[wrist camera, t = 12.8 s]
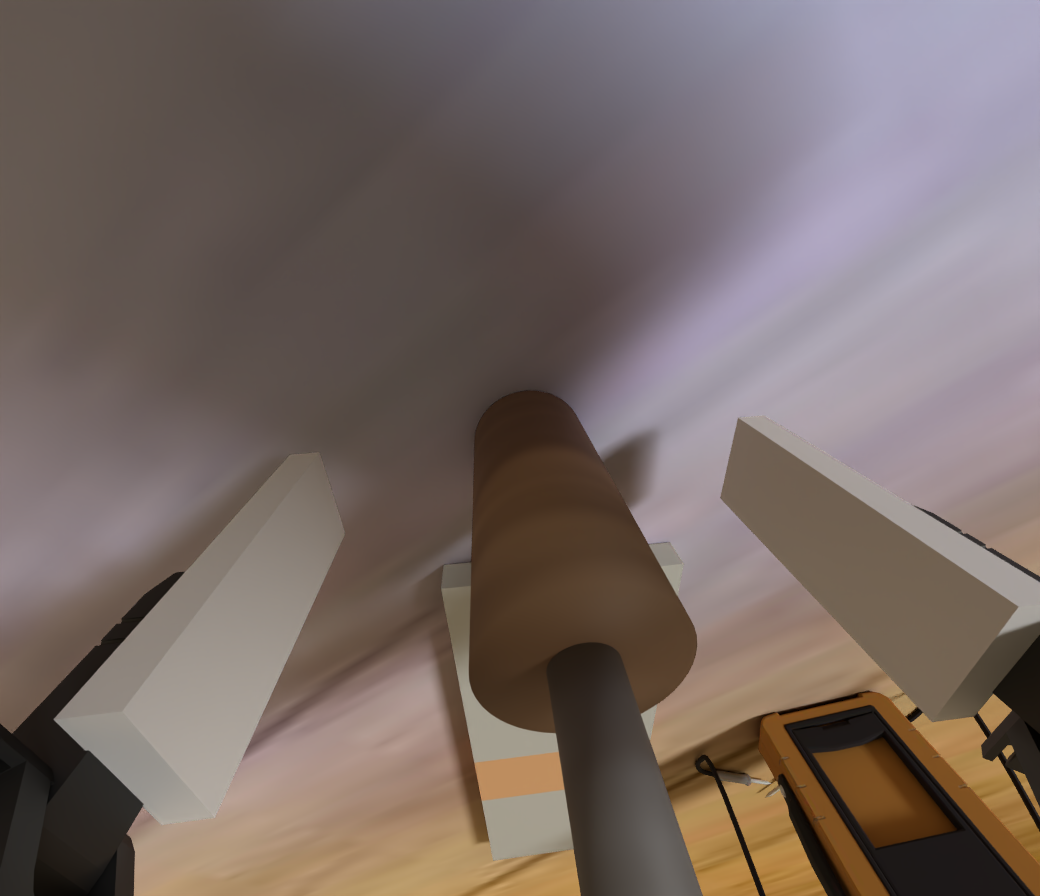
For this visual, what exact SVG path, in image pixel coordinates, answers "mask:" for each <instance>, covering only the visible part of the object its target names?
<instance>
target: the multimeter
mask: <svg viewBox="0 0 1040 896" xmlns="http://www.w3.org/2000/svg"><path fill="white" fill-rule="evenodd" d="M922 713H923V712H922V711H921V710H920V709H919V708H918V709H917V710H916V711H915V712H914V713H913V714H912V715H910V716H909V717H908V718H906V717H905V716H904V715H903V714H902V713H901V712H900V710H899V709H898V708H897V707H896V706H895V705H894V703H893V702H892V701H891V700H890V699H889V698H888V697H886V696H884V695H882V694H880V693H877V692H866V693H858V695H857V698H853V699H849V700H844V701H840V702H836V703H831V704H827V705H823V706H818V707H814V708H810V709H805V710H801V711H796V712H792V713H788V714H783V715H779V714H778V713H777V712H776V713H773V714H770V715H767V716H764V717H763V719H762V720H761V727H760V737H759V747H758V750H759V752H760V753H761V754H762V756H763V757H764V759H765V761H766V763H767V765H768V767H769V768H770V770H771V772H772V774H773V776H774V778H775V780H776V781H778V786H777V787H776V788H774V789H773V790H771V791H770V792H769V793H768V794H767V795H766V797H770V796H772V795H773V794H775V793H776V792H777V791H779V790H781V793H782V795H783V796H784V798H785V801H786V803H787V805H788V809H789V816H790V819H791V821H792V823H793V825H794V828H795V830H796V832H797V834H798V837H799V839H800V841H801V843H802V845H803V848H804V850H805V852H806V854H807V857H808V859H809V861H810V863H811V865H812V868H813V869H814V871H815V873H816V875H817V877H818V879H819V880H820V882H821V884H822V886H823V888H824V890H825V892H826V893H827V895H828V896H1040V864H1039V863H1038V862H1037V861H1036V860H1035V858H1034V857H1033V856H1032V855H1031V854H1030V853H1029V852H1028V851H1027V850H1026V848H1025V847H1024V846H1023V845H1022V844H1021V843H1020V842H1019V841H1018V840H1017V838H1016V837H1015V836H1014V835H1013V834H1012V833H1011V832H1010V831H1009V830H1008V829H1007V827H1006V826H1005V825H1004V824H1003V823H1002V822H1001V821H1000V820H999V819H998V818H997V816H996V815H995V814H994V813H993V812H992V811H991V810H990V809H989V808H988V807H987V806H986V804H985V803H984V802H983V801H982V800H981V799H980V798H979V797H978V796H977V795H976V794H975V792H974V791H973V790H972V789H971V788H970V787H967V784H966V783H965V781H964V780H963V779H962V778H961V777H960V776H959V775H958V774H957V773H956V772H955V771H954V769H953V768H952V767H951V766H950V765H949V764H948V763H947V762H946V761H945V760H944V759H943V758H942V757H940V754H939V753H938V752H937V751H936V750H935V749H934V748H933V747H932V745H931V744H930V743H929V742H928V741H927V740H926V739H925V738H924V737H923V736H922V734H921V733H920V732H919V731H917V730H916V728H915V727H914V726H913V725H912V724H911V722H912V721H914V720H915V719H916V718H917V717H919V716H920V715H921V714H922ZM973 717H974V718H975V720H976V721H977V723H978V724H979V726H980V728H981V729H982V731H983V732H984V734H985V735H986V737H987V738H988V737H989V736H990V735H991V732H990V731H989V729H988V728H987V726H986V725H985V723H984V722H983V720H982V719H981V717H980V716H979V714H978V712H977V714H976V715H975V716H973ZM998 758H999V759H1000V761H1001V763H1002V764H1003V766H1004V768H1005V769H1006V771H1007V773H1008V775H1009V776H1010V778H1011V780H1012V782H1013V783H1014V785H1015V787H1016V789H1017V791H1018V793H1019V794H1020V796H1021V798H1022V800H1023V802H1024V804H1025V805H1026V807H1027V809H1028V811H1029V813H1030V815H1031V816H1032V818H1033V820H1034V822H1035V824H1036V825H1037V827H1038V829H1039V831H1040V817H1039V815H1038V813H1037V812H1036V810H1035V808H1034V806H1033V804H1032V803H1031V801H1030V799H1029V797H1028V795H1027V794H1026V792H1025V790H1024V788H1023V786H1022V785H1021V783H1020V781H1019V779H1018V778H1017V776H1016V774H1015V772H1014V771H1013V769H1010V768H1008V767H1006V765H1005V764H1006V761H1007V759H1006V757H1005V756H1004V754H1003V752H1001V753H1000V754H999V755H998ZM704 760H705V761H706V762H707V764H708V765H709V767H710V769H711V771H712V772H711V771H707V770H704V769H702V768H701V767H700V764H701V763H702V762H703V761H704ZM695 766H696V769H697V770H698V771H699V772H700V773H702V774H705V775H709V776H713V777H714V778H715V780H716V782H717V785H718V787H719V789H720V792H721V794H722V797H723V799H724V802H725V805H726V807H727V810H728V812H729V815H730V818H731V820H732V823H733V825H734V828H735V831H736V833H737V836H738V839H739V841H740V844H741V847H742V850H743V852H744V855H745V858H746V860H747V863H748V866H749V868H750V871H751V874H752V877H753V879H754V882H755V885H756V887H757V890H758V893H759V895H760V896H766V895H765V893H764V890H763V888H762V885H761V882H760V880H759V877H758V874H757V872H756V869H755V866H754V864H753V861H752V859H751V856H750V853H749V851H748V848H747V845H746V843H745V840H744V837H743V835H742V832H741V830H740V827H739V824H738V822H737V819H736V817H735V814H734V812H733V809H732V807H731V804H730V801H729V799H728V796H727V794H726V792H725V789H724V787H723V785H722V782H721V780H722V781H728V782H735V783H741V784H745V785H747V786H750V785H751V782H753V783H759V784H766V785H767V784H771V783H769V782H768V781H764V780H758V779H752V778H750V776H749V775H748V774H738V773H731V772H725V771H716V769H715V767H714V765H713V763H712V762H711V760H710V759H709V758H708V756H706V755H702V756H701V757H700V758H699V759H698V760H697V761H696V763H695ZM766 797H765V798H766Z"/></svg>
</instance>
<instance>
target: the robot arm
mask: <svg viewBox="0 0 1040 896" xmlns="http://www.w3.org/2000/svg"><path fill="white" fill-rule="evenodd" d="M720 498H721V499H722V500H723V502H724V503H725V504H726V505H727V506H728V507H729V508H730V509H731V510H732V511H733V512H734V513H735V514H736V515H737V516H738V517H739V518H740V520H741V521H742V522H743V523H744V524H745V525H746V526H747V527H748V528H749V529H750V530H751V531H752V532H753V533H754V534H755V535H756V536H757V537H758V539H759V540H760V541H761V542H762V543H763V544H764V545H765V546H766V547H767V548H768V549H769V550H770V551H771V552H772V553H773V554H774V555H775V557H776V558H777V559H778V560H779V561H780V562H781V563H782V564H783V565H784V566H785V567H786V568H787V569H788V570H789V571H790V572H791V573H792V574H793V576H794V577H795V578H796V579H797V580H798V581H799V582H800V583H801V584H802V585H803V586H804V587H805V588H806V589H807V590H808V591H809V592H810V594H811V595H812V596H813V597H814V598H815V599H816V600H817V601H818V602H819V603H820V604H821V605H822V606H823V607H824V608H825V609H826V610H827V612H828V613H829V614H830V615H831V616H832V617H833V618H834V619H835V620H836V621H837V622H838V623H839V624H840V625H841V626H842V627H843V628H844V629H845V631H846V632H847V633H848V634H849V635H850V636H851V637H852V638H853V639H854V640H855V641H856V642H857V643H858V644H859V645H860V646H861V647H862V649H863V650H864V651H865V652H866V653H867V654H868V655H869V656H870V657H871V658H872V659H873V660H874V661H875V662H876V663H877V664H878V665H879V666H880V668H881V669H882V670H883V671H884V672H885V673H886V674H887V675H888V676H889V677H890V678H891V679H892V680H893V681H894V682H895V683H896V684H897V686H898V687H899V688H900V689H901V690H902V691H903V692H904V693H905V694H906V695H907V696H908V697H909V698H910V699H911V700H912V701H913V702H914V703H915V705H916V706H917V707H918V708H919V709H920V710H921V711H922V712H923V713H924V714H925V715H926V716H927V717H928V718H929V719H930V720H931V721H932V722H936V721H943V720H951V719H958V718H966V717H973V716H975V715H976V714H977V712H978V711H979V710H980V709H981V708H982V706H983V705H984V704H985V703H986V702H987V700H988V699H989V698H990V697H991V696H992V694H995V695H996V696H997V697H998V698H999V699H1000V700H1001V701H1003V702H1004V703H1005V704H1006V705H1007V706H1008V707H1009V708H1011V709H1012V711H1011V712H1010V714H1009V715H1008V716H1007V717H1006V718H1005V719H1004V720H1003V721H1002V723H1001V724H1000V725H999V726H998V727H997V728H996V729H995V730H994V731H993V733H992V734H991V735H990V736H989V737H988V738H987V739H986V740H985V742H984V743H983V744H982V745H981V748H982V756H983V758H985V759H987V760H990V761H993V760H994V759H995V758H996V757H997V756H998V755H999V754H1000V753H1001V752H1002V750H1003V749H1004V748H1005V747H1006V746H1007V745H1012V747H1013V749H1014V752H1013V753H1012V754H1011V755H1010V756H1009V757H1008V759H1007V761H1006V764H1005V765H1006V767H1008V768H1010V769H1013V770H1016V771H1018V772H1021V773H1023V774H1025V775H1026V778H1027V780H1028V782H1029V784H1030V787H1031V789H1032V791H1033V793H1034V795H1035V798H1036V800H1037V802H1038V804H1039V807H1040V577H1039V576H1038V575H1036V574H1034V573H1033V572H1031V571H1029V570H1028V569H1026V568H1024V567H1023V566H1021V565H1019V564H1018V563H1016V562H1014V561H1012V560H1011V559H1009V558H1007V557H1006V556H1004V555H1002V554H1001V553H999V552H997V551H996V550H994V549H992V548H989V549H987V548H986V546H985V545H986V544H984V543H982V542H981V541H979V540H977V539H976V538H974V537H972V536H970V535H969V534H963V533H962V532H961V530H960V529H959V528H957V527H955V526H954V525H952V524H950V523H949V522H947V521H945V520H944V519H942V518H940V517H939V516H937V515H935V514H934V513H931V512H929V511H926V510H924V509H921V508H919V507H916V506H914V505H912V504H910V503H908V502H906V501H905V500H903V499H901V498H900V497H898V496H896V495H895V494H893V493H891V492H890V491H888V490H886V489H885V488H883V487H881V486H880V485H878V484H876V483H875V482H873V481H872V480H870V479H868V478H867V477H865V476H863V475H862V474H860V473H858V472H857V471H855V470H853V469H852V468H850V467H848V466H847V465H845V464H843V463H842V462H840V461H838V460H837V459H835V458H834V457H832V456H830V455H829V454H827V453H825V452H824V451H822V450H820V449H819V448H817V447H815V446H814V445H812V444H810V443H809V442H807V441H805V440H804V439H802V438H800V437H799V436H797V435H795V434H794V433H792V432H791V431H789V430H787V429H786V428H784V427H782V426H781V425H779V424H777V423H776V422H774V421H772V420H771V419H769V418H767V417H766V416H751V417H739V418H738V421H737V425H736V430H735V434H734V439H733V443H732V448H731V452H730V457H729V461H728V466H727V470H726V474H725V479H724V483H723V488H722V492H721V497H720ZM344 536H345V531H344V528H343V524H342V521H341V518H340V515H339V512H338V509H337V506H336V502H335V499H334V496H333V493H332V490H331V487H330V483H329V480H328V477H327V474H326V471H325V468H324V464H323V461H322V458H321V455H320V452H315V453H303V454H291V455H289V456H288V457H287V459H286V460H285V461H284V462H283V463H282V464H281V465H280V466H279V468H278V469H277V470H276V471H275V472H274V473H273V474H272V475H271V476H270V478H269V479H268V480H267V481H266V482H265V483H264V484H263V485H262V487H261V488H260V489H259V490H258V491H257V492H256V493H255V494H254V496H253V497H252V498H251V499H250V500H249V501H248V502H247V503H246V504H245V506H244V507H243V508H242V509H241V510H240V511H239V512H238V513H237V515H236V516H235V517H234V518H233V519H232V520H231V521H230V522H229V524H228V525H227V526H226V527H225V528H224V529H223V530H222V531H221V532H220V534H219V535H218V536H217V537H216V538H215V539H214V540H213V541H212V543H211V544H210V545H209V546H208V547H207V548H206V549H205V550H204V552H203V553H202V554H201V555H200V556H199V557H198V558H197V559H196V560H195V562H194V563H193V564H192V565H191V566H190V567H189V568H188V569H187V571H186V572H177V573H174V574H173V575H171V576H170V577H169V578H167V579H166V580H164V581H163V582H161V583H160V584H159V585H157V586H156V587H154V588H153V589H152V590H150V591H149V592H147V593H146V594H145V595H144V596H143V597H142V598H141V599H140V600H139V601H138V602H137V603H136V604H135V605H134V606H133V607H132V608H131V609H130V610H129V612H128V613H127V614H126V615H125V616H124V617H123V618H122V622H121V624H116V625H115V626H114V627H113V628H112V629H111V630H110V631H109V633H108V634H107V635H106V636H105V637H104V638H103V639H102V640H101V641H102V642H101V645H100V646H95V647H94V648H93V649H92V650H91V651H90V653H89V654H88V655H87V656H86V657H85V658H84V659H83V660H82V661H81V662H80V663H79V664H78V665H77V666H76V667H75V668H74V669H73V670H72V671H71V673H70V674H69V675H68V676H67V677H66V678H65V679H64V680H63V681H62V682H61V683H60V684H59V685H58V686H57V687H56V688H55V689H54V690H53V691H52V692H51V694H50V695H49V696H48V697H47V698H46V699H45V700H44V701H43V702H42V703H41V704H40V705H39V706H38V707H37V708H36V709H35V710H34V711H33V712H32V714H31V715H30V716H29V717H28V718H27V719H26V720H25V721H24V722H23V723H22V724H21V725H20V726H19V727H18V728H17V729H16V730H15V731H14V732H13V733H12V734H11V733H10V732H9V731H8V730H7V729H6V728H5V727H3V726H2V725H1V724H0V896H134V862H135V851H134V847H133V844H132V840H131V838H130V837H129V836H128V835H127V834H126V833H127V832H128V830H129V828H130V827H131V825H132V823H133V822H134V820H135V818H136V817H137V815H138V813H139V812H140V810H141V808H142V807H144V808H145V809H146V810H147V811H148V812H149V813H150V814H151V815H152V816H153V817H154V818H155V819H156V820H157V821H158V822H159V823H160V824H161V825H165V824H172V823H180V822H187V821H195V820H202V819H210V818H215V816H216V814H217V812H218V810H219V808H220V805H221V803H222V801H223V799H224V797H225V795H226V792H227V790H228V788H229V786H230V784H231V781H232V779H233V777H234V775H235V773H236V771H237V768H238V766H239V764H240V762H241V760H242V758H243V755H244V753H245V751H246V749H247V747H248V744H249V742H250V740H251V738H252V736H253V734H254V731H255V729H256V727H257V725H258V723H259V721H260V718H261V716H262V714H263V712H264V710H265V707H266V705H267V703H268V701H269V699H270V697H271V694H272V692H273V690H274V688H275V686H276V684H277V681H278V679H279V677H280V675H281V673H282V670H283V668H284V666H285V664H286V662H287V660H288V657H289V655H290V653H291V651H292V649H293V647H294V644H295V642H296V640H297V638H298V636H299V633H300V631H301V629H302V627H303V625H304V623H305V620H306V618H307V616H308V614H309V612H310V610H311V607H312V605H313V603H314V601H315V599H316V596H317V594H318V592H319V590H320V588H321V586H322V583H323V581H324V579H325V577H326V575H327V573H328V570H329V568H330V566H331V564H332V562H333V560H334V557H335V555H336V553H337V551H338V549H339V546H340V544H341V542H342V540H343V538H344Z"/></svg>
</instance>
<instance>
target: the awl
mask: <svg viewBox="0 0 1040 896" xmlns="http://www.w3.org/2000/svg"><path fill="white" fill-rule="evenodd" d="M696 650H697V635H696V632H695V628H694V625H693V623H692V622H691V620H690V618H689V616H688V614H687V612H686V611H685V609H684V607H683V605H682V603H681V602H680V600H679V598H678V596H677V594H676V593H675V591H674V589H673V587H672V585H671V584H670V582H669V580H668V578H667V577H666V575H665V573H664V571H663V569H662V568H661V566H660V564H659V562H658V560H657V559H656V557H655V555H654V553H653V552H652V550H651V548H650V546H649V544H648V543H647V541H646V539H645V537H644V535H643V534H642V532H641V530H640V528H639V527H638V525H637V523H636V521H635V519H634V518H633V516H632V514H631V512H630V510H629V509H628V507H627V505H626V503H625V502H624V500H623V498H622V496H621V494H620V493H619V491H618V489H617V487H616V485H615V484H614V482H613V480H612V478H611V477H610V475H609V473H608V471H607V469H606V468H605V466H604V464H603V462H602V460H601V459H600V457H599V455H598V453H597V452H596V450H595V448H594V446H593V444H592V443H591V441H590V439H589V437H588V435H587V434H586V432H585V430H584V428H583V427H582V425H581V423H580V421H579V419H578V418H577V416H576V414H575V413H574V411H573V410H572V408H571V407H570V406H569V405H568V404H567V403H565V402H564V401H563V400H562V399H560V398H558V397H556V396H554V395H552V394H549V393H546V392H542V391H520V392H516V393H512V394H510V395H507V396H505V397H503V398H501V399H499V400H498V401H496V402H495V403H494V404H492V405H491V406H490V407H489V408H488V409H487V410H486V412H485V413H484V414H483V416H482V417H481V419H480V421H479V423H478V426H477V428H476V432H475V440H474V479H473V518H472V557H471V596H470V635H469V683H470V686H471V690H472V692H473V694H474V696H475V698H476V699H477V701H478V702H479V703H480V705H481V706H482V707H483V708H484V709H485V710H486V711H488V712H489V713H490V714H491V715H493V716H494V717H496V718H497V719H499V720H501V721H503V722H505V723H507V724H510V725H512V726H515V727H518V728H522V729H526V730H530V731H536V732H543V733H556V738H557V744H558V751H559V757H560V764H561V770H562V776H563V783H564V789H565V796H566V802H567V809H568V815H569V822H570V828H571V834H572V841H573V847H574V854H575V860H576V867H577V873H578V879H579V886H580V892H581V896H703V895H702V892H701V889H700V886H699V883H698V880H697V877H696V874H695V871H694V869H693V866H692V863H691V860H690V857H689V854H688V851H687V848H686V845H685V842H684V839H683V836H682V833H681V831H680V828H679V825H678V822H677V819H676V816H675V813H674V810H673V807H672V804H671V801H670V798H669V795H668V792H667V790H666V787H665V784H664V781H663V778H662V775H661V772H660V769H659V766H658V763H657V760H656V757H655V754H654V752H653V749H652V746H651V743H650V740H649V737H648V734H647V731H646V728H645V725H644V722H643V719H642V716H641V714H642V713H644V712H645V711H647V710H649V709H650V708H652V707H654V706H655V705H657V704H658V703H659V702H661V701H662V700H664V699H665V698H666V697H667V696H668V695H670V694H671V693H672V692H673V691H674V690H675V689H676V688H677V687H678V686H679V685H680V683H681V682H682V681H683V680H684V678H685V677H686V675H687V674H688V672H689V670H690V668H691V666H692V665H693V662H694V659H695V656H696Z"/></svg>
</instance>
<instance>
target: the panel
mask: <svg viewBox="0 0 1040 896" xmlns="http://www.w3.org/2000/svg"><path fill="white" fill-rule="evenodd" d="M649 546H650V548H651V550H652V552H653V553H654V555H655V557H656V559H657V560H658V562H659V564H660V566H661V568H662V569H663V571H664V573H665V575H666V577H667V578H668V580H669V582H670V584H671V585H672V587H673V589H674V591H675V593H676V594H677V596H678V591H679V586H680V580H681V575H682V570H683V565H684V564H683V562H682V560H681V559H680V557H679V556H678V554H677V553H676V551H675V549H674V548H673V546H672V545H671V543H670V542H669V543H659V544H649ZM441 592H442V597H443V602H444V607H445V613H446V618H447V623H448V628H449V633H450V639H451V644H452V649H453V654H454V659H455V665H456V670H457V675H458V680H459V685H460V691H461V696H462V701H463V706H464V711H465V717H466V722H467V727H468V732H469V737H470V743H471V748H472V753H473V758H474V763H475V769H476V774H477V779H478V784H479V789H480V795H481V800H482V805H483V810H484V815H485V821H486V826H487V831H488V836H489V841H490V847H491V852H492V857H493V861H495V860H502V859H509V858H516V857H522V856H529V855H536V854H543V853H550V852H557V851H564V850H571V849H574V847H573V841H572V834H571V828H570V822H569V815H568V809H567V802H566V796H565V789H564V783H563V776H562V770H561V764H560V757H559V751H558V744H557V738H556V733H543V732H536V731H530V730H526V729H522V728H518V727H515V726H512V725H510V724H507V723H505V722H503V721H501V720H499V719H497V718H496V717H494V716H493V715H491V714H490V713H489V712H488V711H486V710H485V709H484V708H483V707H482V706H481V705H480V703H479V702H478V701H477V699H476V698H475V696H474V694H473V692H472V690H471V686H470V683H469V635H470V596H471V562H470V563H460V564H450V565H444V566H443V575H442V584H441ZM656 707H657V705H655V706H654V707H652V708H650V709H649V710H647V711H645V712H644V713H642V714H641V716H642V719H643V722H644V725H645V728H646V731H647V734H648V737H649V740H650V739H651V734H652V728H653V723H654V718H655V712H656Z"/></svg>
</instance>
